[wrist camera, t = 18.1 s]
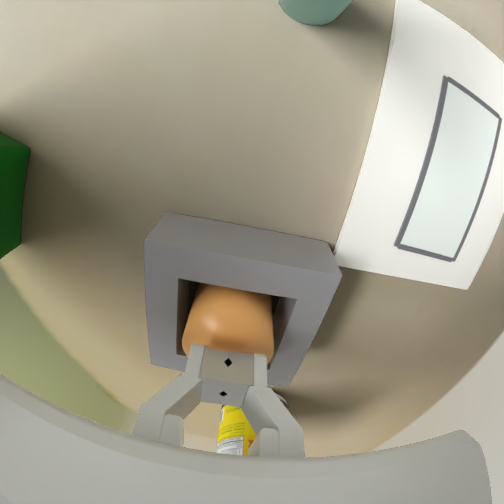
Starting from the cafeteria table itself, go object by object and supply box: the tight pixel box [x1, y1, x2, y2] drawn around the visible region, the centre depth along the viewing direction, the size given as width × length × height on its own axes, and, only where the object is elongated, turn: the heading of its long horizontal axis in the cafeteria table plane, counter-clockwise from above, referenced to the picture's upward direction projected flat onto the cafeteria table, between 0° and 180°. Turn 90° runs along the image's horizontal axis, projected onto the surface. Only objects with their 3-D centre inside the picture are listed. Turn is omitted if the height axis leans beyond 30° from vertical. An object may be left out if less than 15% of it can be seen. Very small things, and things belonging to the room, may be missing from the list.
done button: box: [182, 282, 274, 364], centre depth 13 cm, size 4×4×3 cm
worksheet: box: [333, 0, 504, 290], centre depth 11 cm, size 15×11×1 cm
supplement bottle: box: [217, 393, 288, 456], centre depth 16 cm, size 6×6×10 cm
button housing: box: [144, 212, 342, 386], centre depth 14 cm, size 8×8×3 cm
